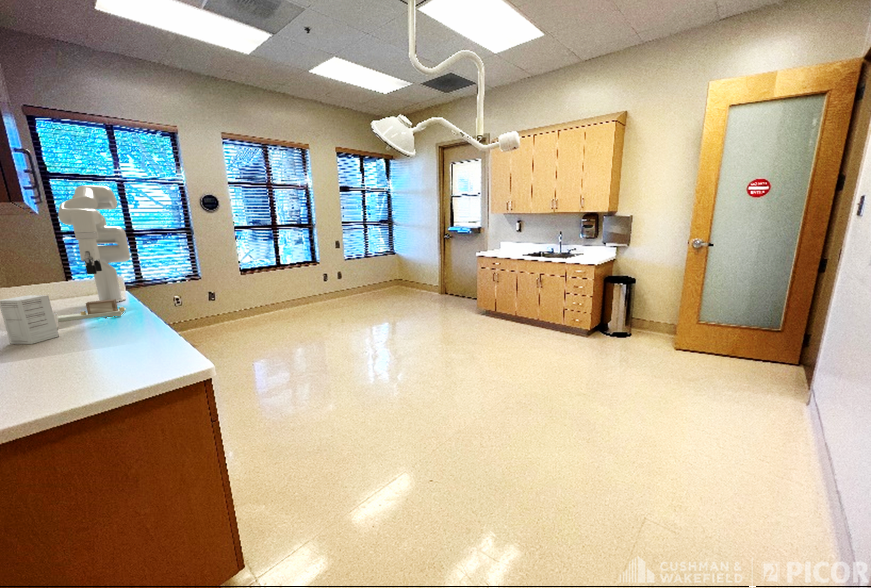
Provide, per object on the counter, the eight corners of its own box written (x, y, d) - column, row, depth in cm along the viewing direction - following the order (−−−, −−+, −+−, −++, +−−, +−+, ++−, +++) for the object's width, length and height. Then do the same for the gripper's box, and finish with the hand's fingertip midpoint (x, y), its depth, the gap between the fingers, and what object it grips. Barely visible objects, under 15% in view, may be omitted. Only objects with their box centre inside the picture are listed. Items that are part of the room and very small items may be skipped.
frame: (90, 313, 167) (87, 301, 166) (118, 310, 172) (115, 299, 171) (88, 315, 163) (85, 303, 162) (116, 312, 169) (113, 300, 167)
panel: (51, 319, 163) (50, 312, 163) (127, 310, 178) (126, 304, 177) (40, 326, 152) (38, 319, 151) (122, 316, 166) (120, 310, 165)
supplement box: (60, 336, 137) (50, 294, 134) (31, 344, 128) (19, 300, 125) (38, 336, 138) (28, 294, 135) (9, 344, 129) (-4, 299, 126)
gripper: (81, 235, 167) (89, 270, 170) (69, 237, 152) (78, 275, 156) (102, 235, 171) (109, 269, 174) (92, 236, 156) (101, 274, 160)
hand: (94, 272), depth 165 cm, fingers open, 9 cm apart
